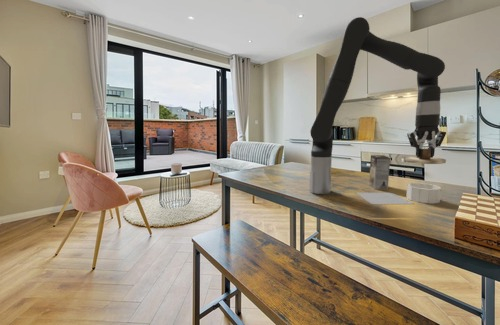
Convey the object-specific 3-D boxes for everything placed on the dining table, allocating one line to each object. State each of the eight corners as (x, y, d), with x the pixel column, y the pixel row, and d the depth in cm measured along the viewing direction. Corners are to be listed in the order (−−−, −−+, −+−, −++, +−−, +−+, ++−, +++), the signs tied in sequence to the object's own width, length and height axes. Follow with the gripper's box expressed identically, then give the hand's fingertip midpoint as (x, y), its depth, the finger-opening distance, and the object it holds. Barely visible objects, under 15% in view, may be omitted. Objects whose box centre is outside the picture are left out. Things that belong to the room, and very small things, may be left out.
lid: (418, 164, 87) (419, 151, 86) (398, 159, 100) (398, 148, 99) (454, 163, 86) (455, 149, 86) (429, 158, 99) (430, 147, 98)
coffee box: (368, 185, 121) (370, 155, 119) (381, 185, 120) (383, 155, 117) (374, 190, 112) (376, 157, 110) (388, 190, 111) (390, 157, 108)
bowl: (417, 204, 91) (418, 189, 90) (400, 196, 101) (401, 183, 101) (446, 204, 90) (448, 189, 89) (426, 196, 101) (427, 182, 100)
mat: (372, 205, 91) (372, 204, 91) (355, 193, 107) (355, 192, 107) (414, 205, 90) (414, 203, 90) (391, 193, 106) (391, 192, 106)
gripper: (415, 114, 87) (412, 159, 90) (454, 112, 86) (450, 158, 89) (403, 115, 95) (400, 157, 97) (439, 113, 94) (436, 155, 96)
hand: (424, 157), depth 93 cm, fingers closed on lid, 3 cm apart
